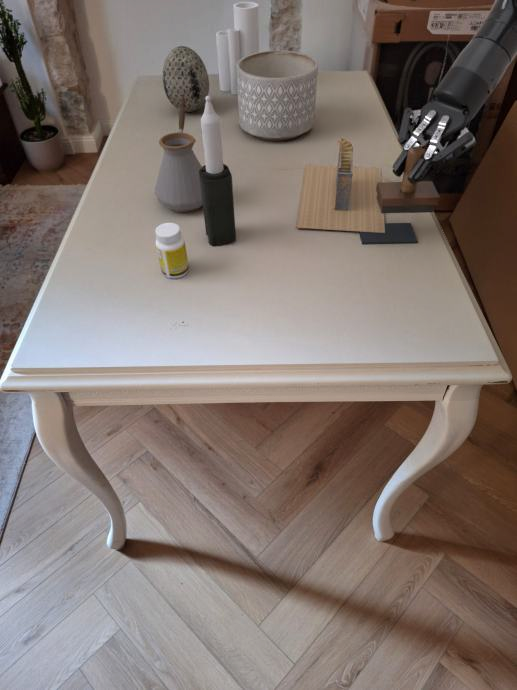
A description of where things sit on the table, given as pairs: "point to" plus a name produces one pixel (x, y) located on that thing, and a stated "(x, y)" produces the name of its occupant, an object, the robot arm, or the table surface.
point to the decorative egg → (185, 78)
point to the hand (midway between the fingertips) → (403, 177)
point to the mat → (390, 235)
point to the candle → (216, 183)
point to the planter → (276, 93)
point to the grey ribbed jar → (179, 170)
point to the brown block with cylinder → (407, 190)
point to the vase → (237, 44)
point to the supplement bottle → (171, 250)
